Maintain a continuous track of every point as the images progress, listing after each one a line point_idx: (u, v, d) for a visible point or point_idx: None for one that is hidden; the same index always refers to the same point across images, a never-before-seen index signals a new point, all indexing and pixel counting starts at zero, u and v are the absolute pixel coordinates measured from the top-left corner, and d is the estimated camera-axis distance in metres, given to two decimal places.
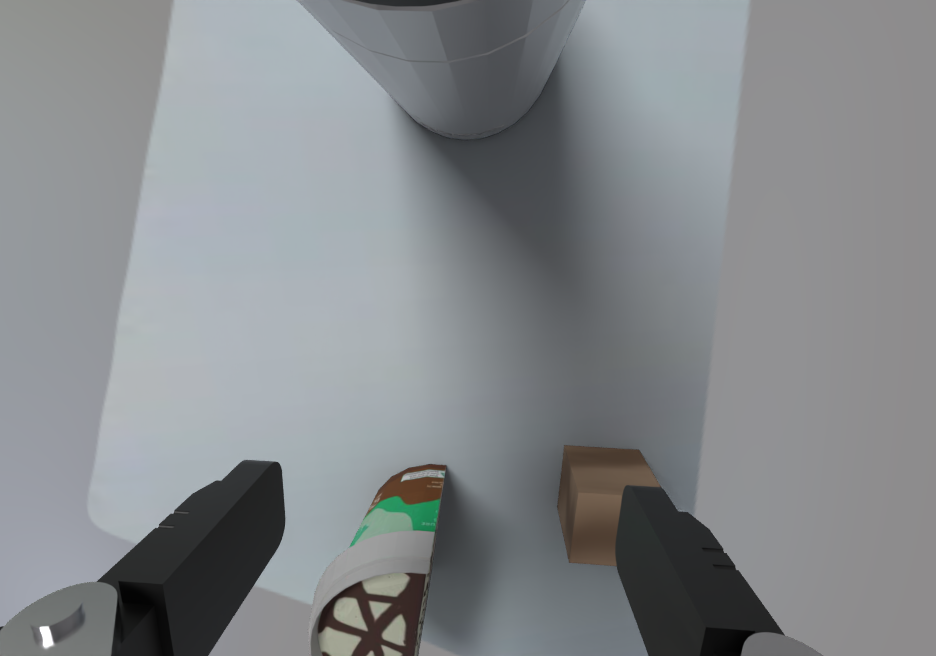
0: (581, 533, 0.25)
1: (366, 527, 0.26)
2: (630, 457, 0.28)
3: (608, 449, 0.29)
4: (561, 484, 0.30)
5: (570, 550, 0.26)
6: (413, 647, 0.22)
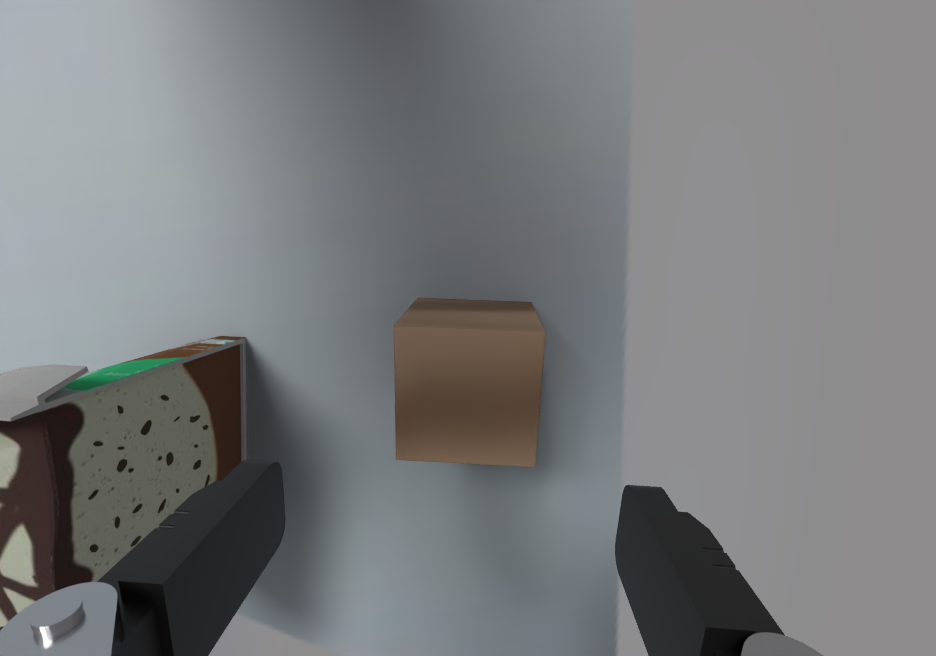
0: (409, 404, 0.15)
1: None
2: (512, 306, 0.18)
3: (483, 301, 0.19)
4: None
5: (396, 438, 0.15)
6: (52, 589, 0.12)
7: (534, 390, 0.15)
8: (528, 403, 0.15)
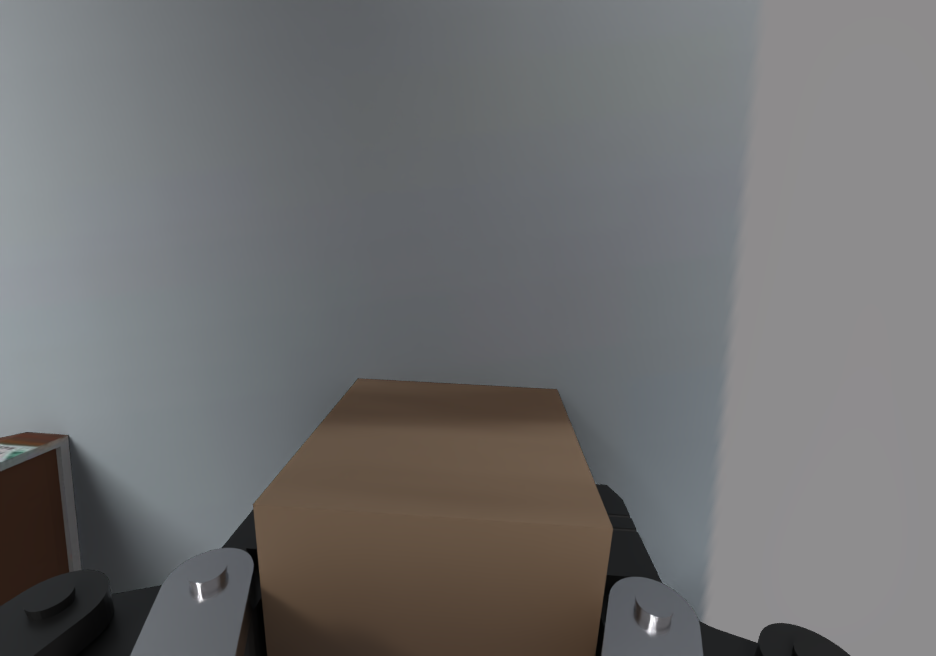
0: None
1: None
2: (525, 405, 0.10)
3: (472, 388, 0.11)
4: None
5: None
6: None
7: (581, 647, 0.06)
8: None
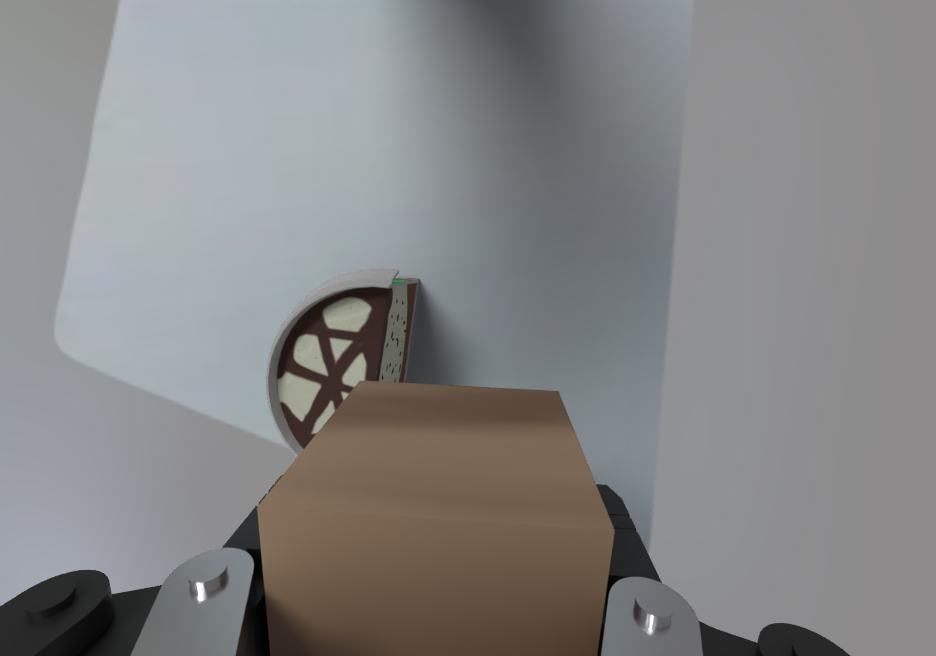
0: None
1: None
2: (526, 407, 0.10)
3: (474, 390, 0.11)
4: None
5: None
6: None
7: (583, 648, 0.06)
8: None
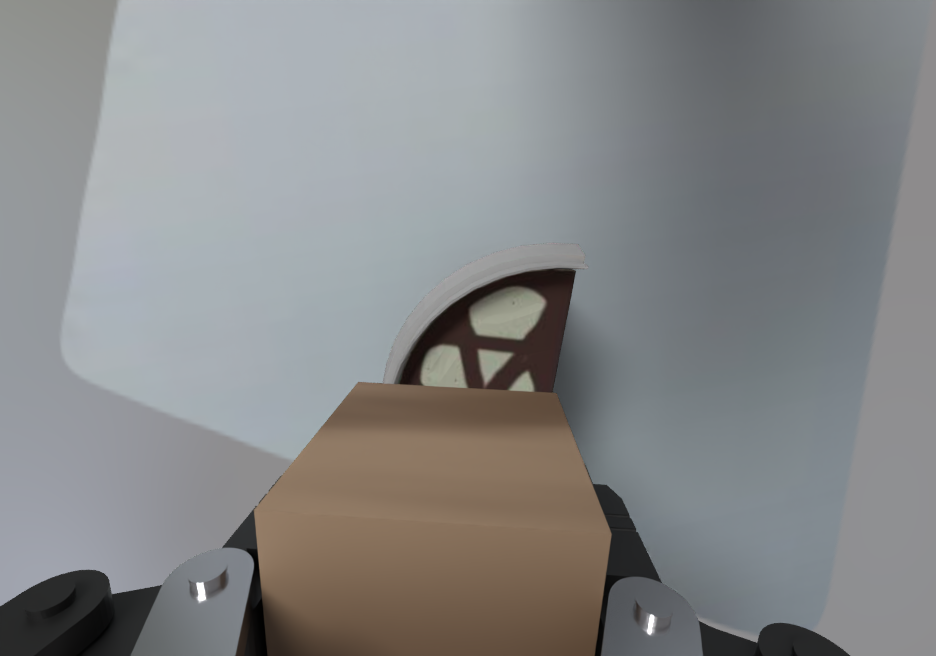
0: None
1: None
2: (524, 409, 0.10)
3: (472, 392, 0.11)
4: None
5: None
6: None
7: (580, 651, 0.06)
8: None
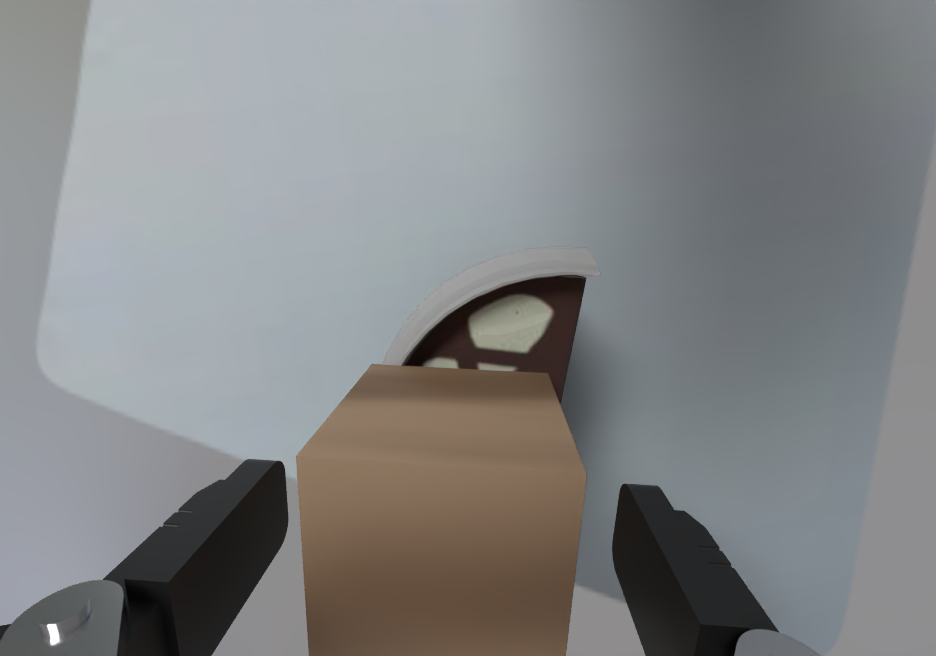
0: (330, 591, 0.08)
1: None
2: (519, 385, 0.11)
3: (473, 372, 0.12)
4: None
5: None
6: None
7: (562, 574, 0.08)
8: (550, 595, 0.08)
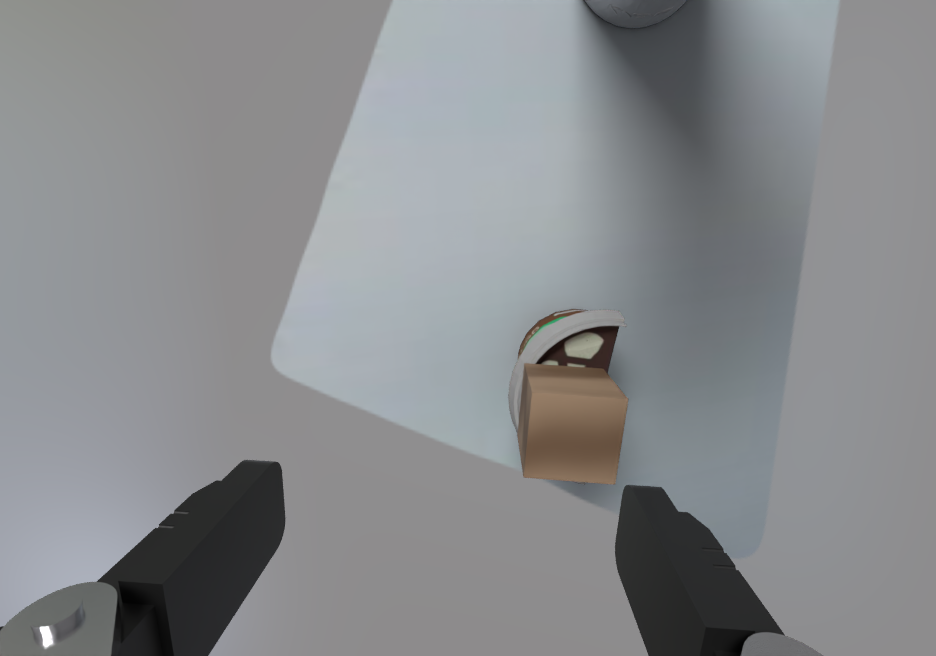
0: (536, 441, 0.23)
1: None
2: (593, 373, 0.26)
3: (570, 367, 0.27)
4: (521, 407, 0.28)
5: (525, 463, 0.24)
6: None
7: (618, 435, 0.23)
8: (613, 443, 0.23)
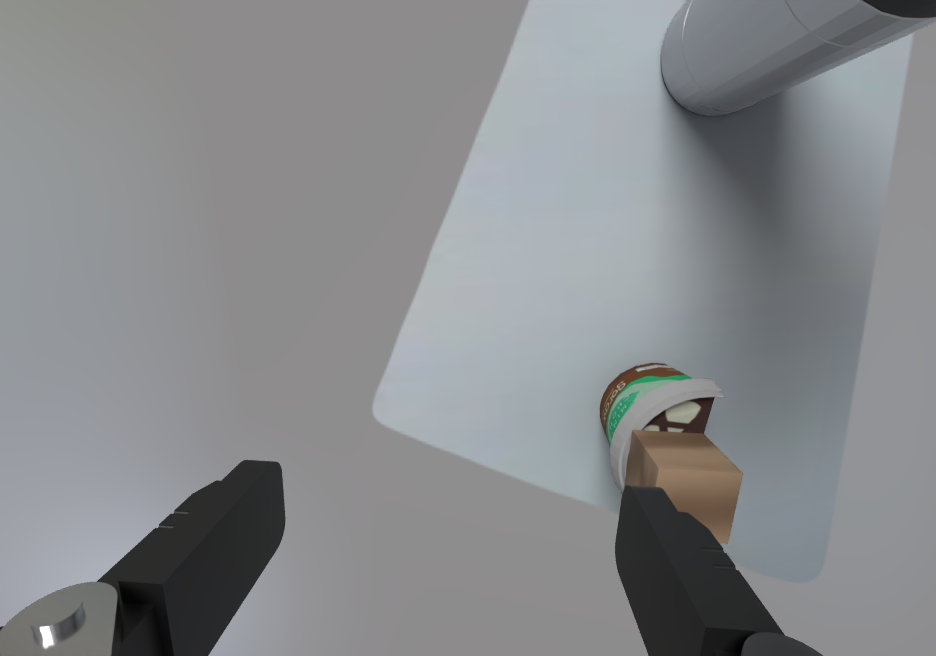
0: None
1: (636, 392, 0.35)
2: (697, 440, 0.30)
3: (675, 433, 0.31)
4: (629, 468, 0.31)
5: None
6: None
7: (733, 502, 0.26)
8: (728, 509, 0.27)
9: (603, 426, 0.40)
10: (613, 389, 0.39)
